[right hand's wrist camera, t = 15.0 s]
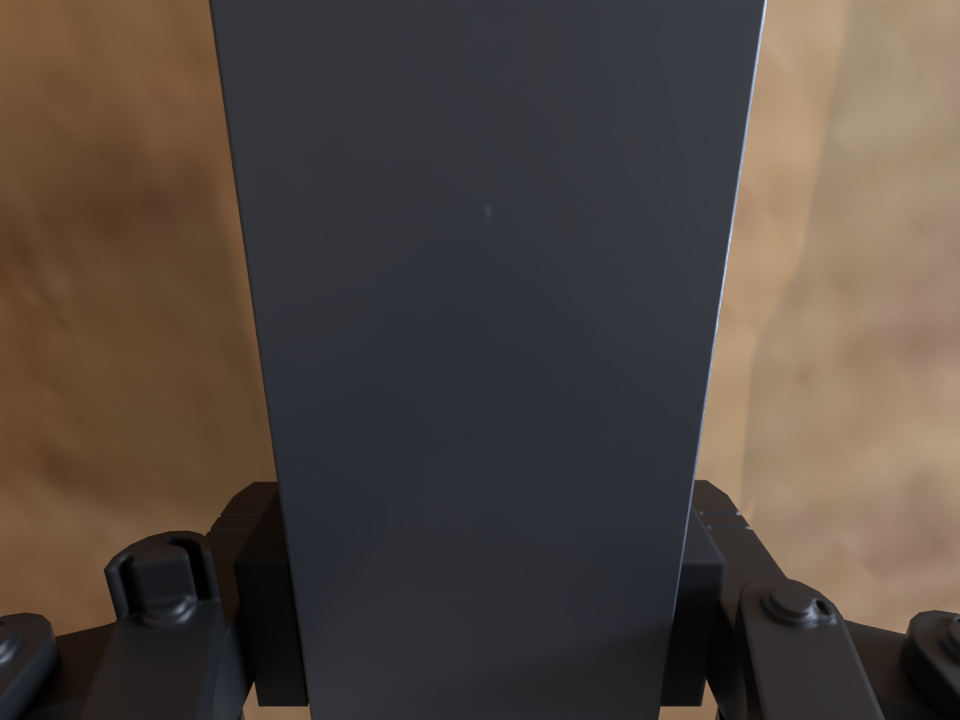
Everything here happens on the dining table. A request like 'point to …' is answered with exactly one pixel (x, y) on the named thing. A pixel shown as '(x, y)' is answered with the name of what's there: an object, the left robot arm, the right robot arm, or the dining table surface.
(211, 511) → the dining table surface
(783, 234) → the dining table surface
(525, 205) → the beam
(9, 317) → the dining table surface
